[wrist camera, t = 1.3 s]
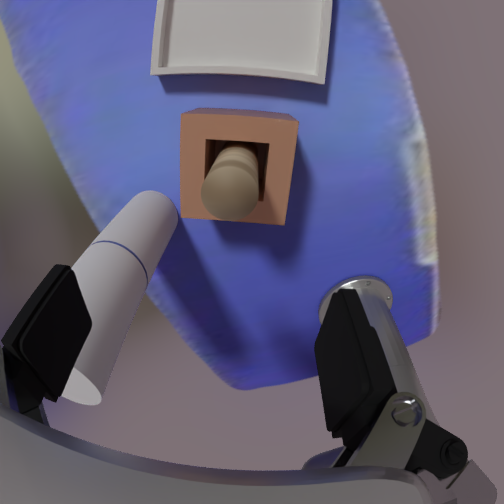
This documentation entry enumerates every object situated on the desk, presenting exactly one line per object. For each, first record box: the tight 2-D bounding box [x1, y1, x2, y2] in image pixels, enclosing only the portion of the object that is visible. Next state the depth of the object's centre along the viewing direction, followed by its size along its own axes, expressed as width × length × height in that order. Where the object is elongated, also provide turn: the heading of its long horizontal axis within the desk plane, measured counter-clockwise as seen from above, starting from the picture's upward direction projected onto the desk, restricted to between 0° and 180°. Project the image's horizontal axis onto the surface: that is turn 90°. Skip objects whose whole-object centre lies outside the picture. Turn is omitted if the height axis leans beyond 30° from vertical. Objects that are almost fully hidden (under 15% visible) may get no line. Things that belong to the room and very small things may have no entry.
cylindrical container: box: [61, 191, 178, 405], centre depth 25 cm, size 7×7×25 cm
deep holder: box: [180, 108, 299, 225], centre depth 28 cm, size 10×10×8 cm
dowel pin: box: [201, 140, 259, 221], centre depth 25 cm, size 4×4×13 cm
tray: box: [150, 0, 332, 85], centre depth 21 cm, size 16×18×2 cm
